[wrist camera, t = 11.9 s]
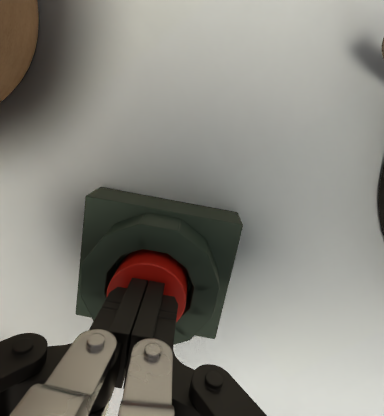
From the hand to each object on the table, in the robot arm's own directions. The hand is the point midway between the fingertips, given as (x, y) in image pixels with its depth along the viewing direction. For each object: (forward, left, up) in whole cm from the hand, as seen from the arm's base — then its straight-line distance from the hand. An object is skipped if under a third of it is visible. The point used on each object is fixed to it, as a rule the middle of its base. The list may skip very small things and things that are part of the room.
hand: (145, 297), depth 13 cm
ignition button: (0, 0, -2) cm, 2 cm away
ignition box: (0, 0, -5) cm, 5 cm away
